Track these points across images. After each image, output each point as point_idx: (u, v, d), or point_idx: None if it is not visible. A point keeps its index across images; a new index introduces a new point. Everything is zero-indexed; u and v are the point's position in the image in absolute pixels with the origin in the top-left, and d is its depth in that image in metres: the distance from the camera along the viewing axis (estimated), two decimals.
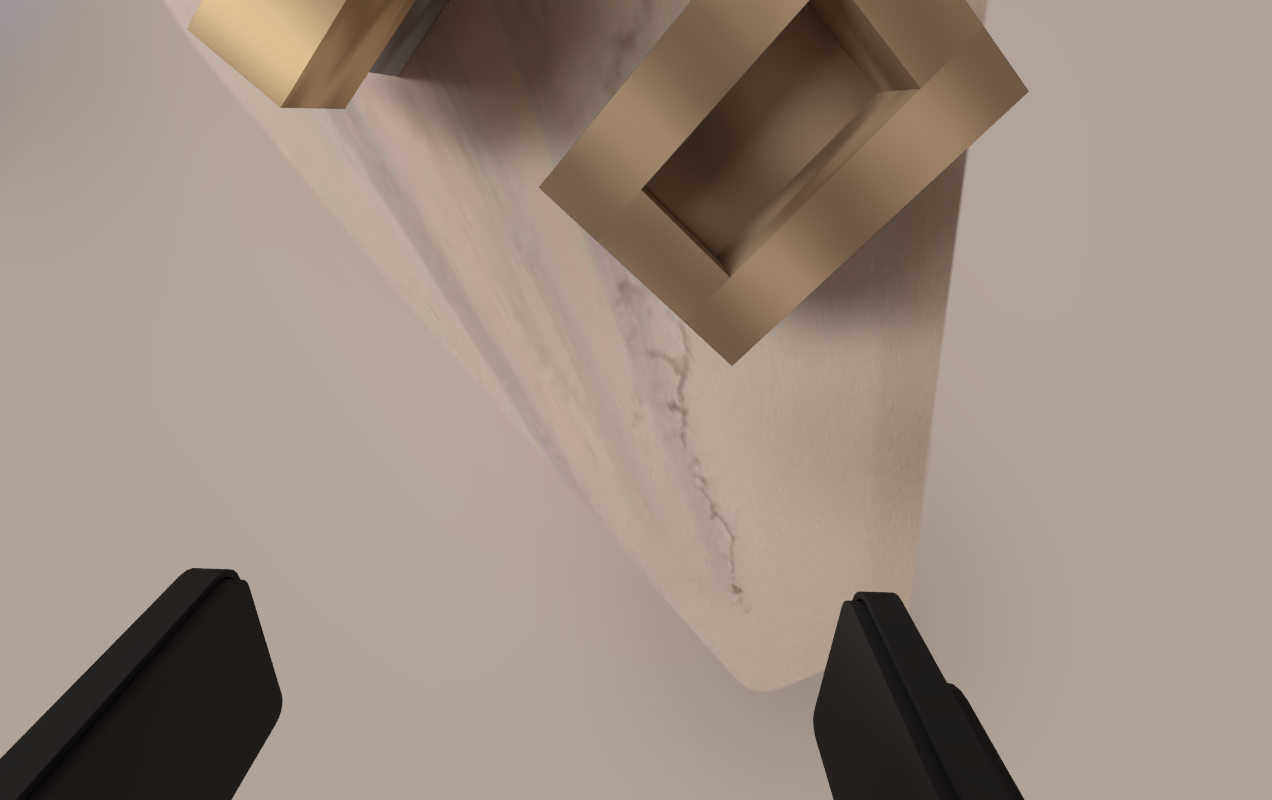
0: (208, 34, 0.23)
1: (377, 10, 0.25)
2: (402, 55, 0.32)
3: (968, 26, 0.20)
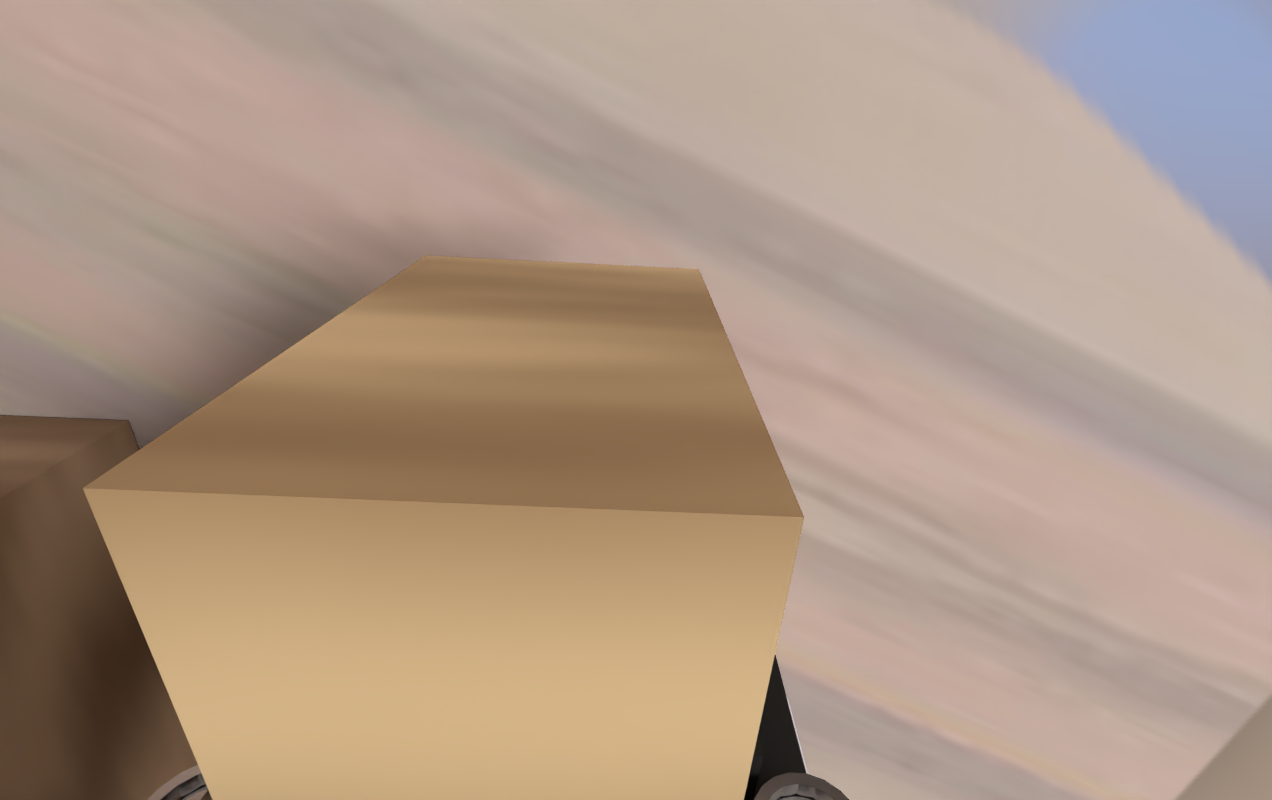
0: (679, 567, 0.04)
1: None
2: None
3: None
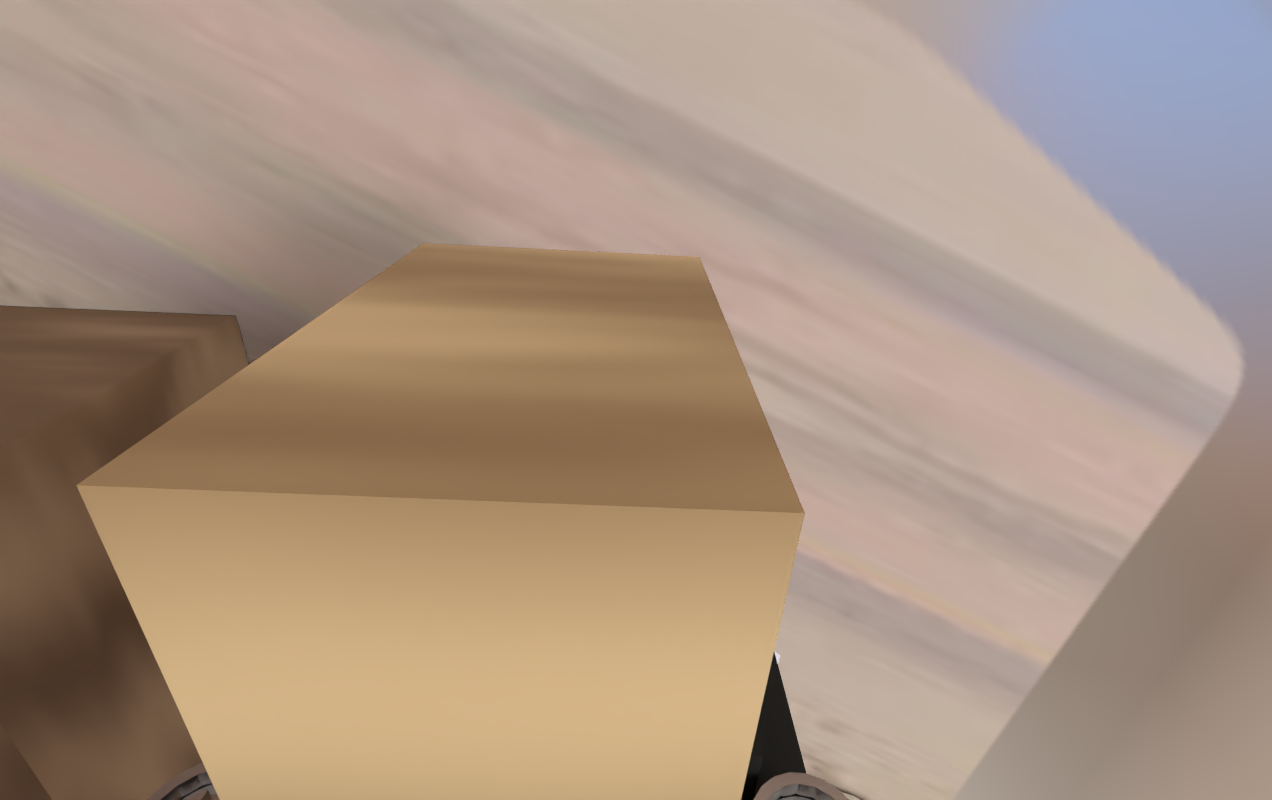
0: (678, 563, 0.04)
1: None
2: None
3: None
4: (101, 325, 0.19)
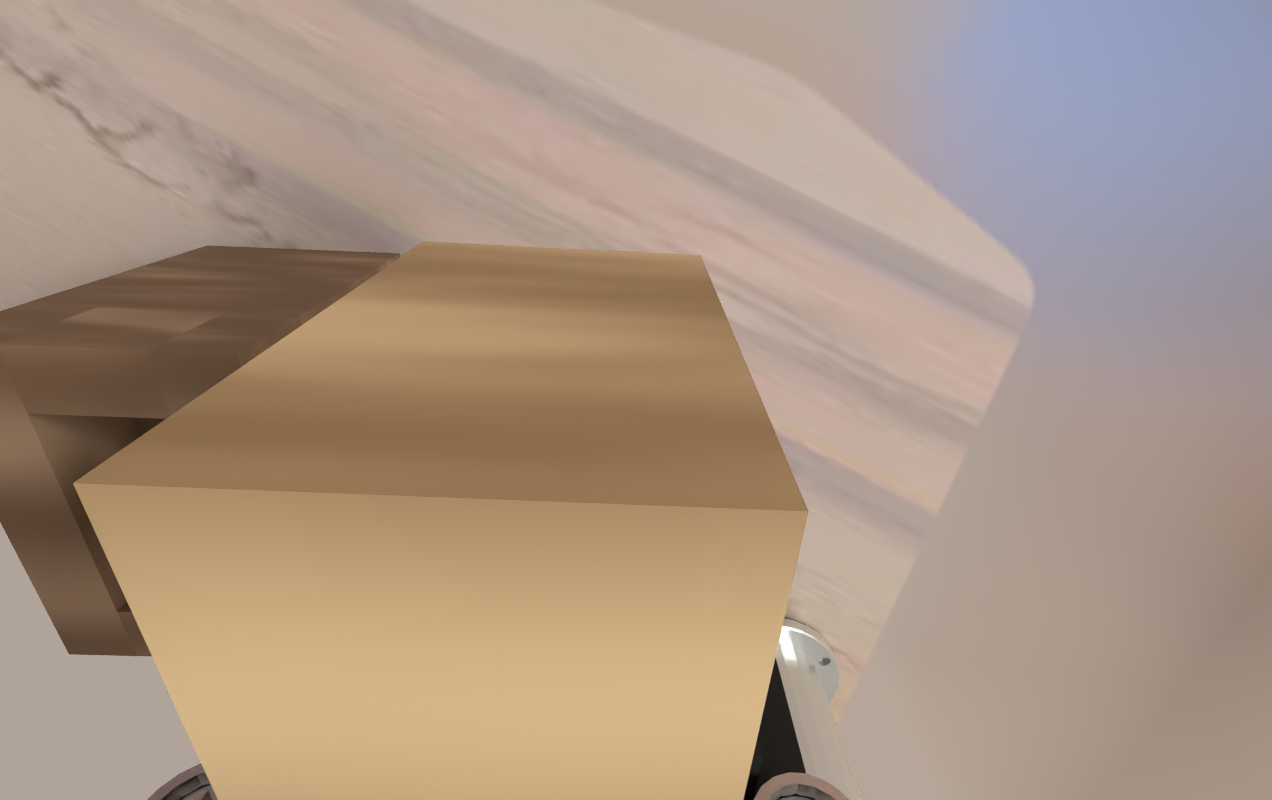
0: (681, 561, 0.03)
1: None
2: None
3: (142, 650, 0.25)
4: (326, 256, 0.31)
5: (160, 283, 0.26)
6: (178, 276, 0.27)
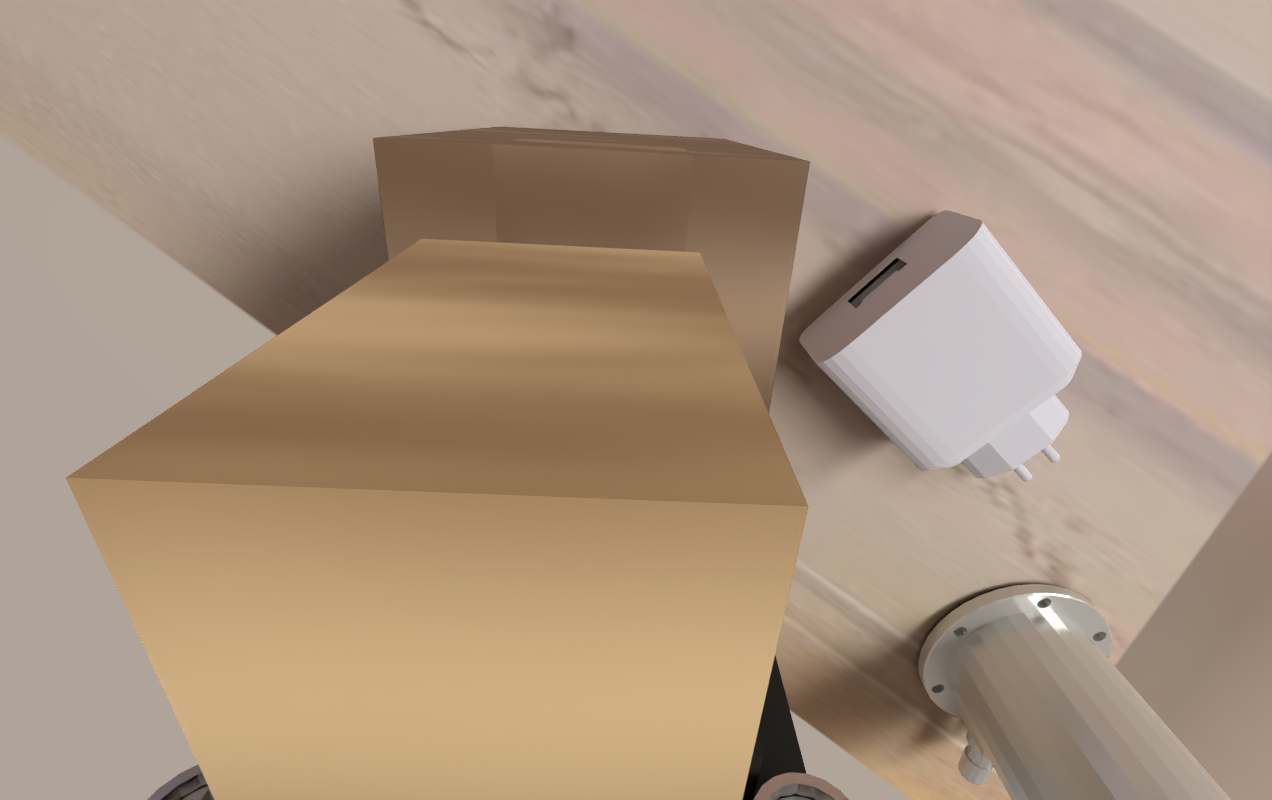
0: (679, 557, 0.03)
1: None
2: None
3: None
4: None
5: (535, 134, 0.21)
6: (539, 133, 0.22)
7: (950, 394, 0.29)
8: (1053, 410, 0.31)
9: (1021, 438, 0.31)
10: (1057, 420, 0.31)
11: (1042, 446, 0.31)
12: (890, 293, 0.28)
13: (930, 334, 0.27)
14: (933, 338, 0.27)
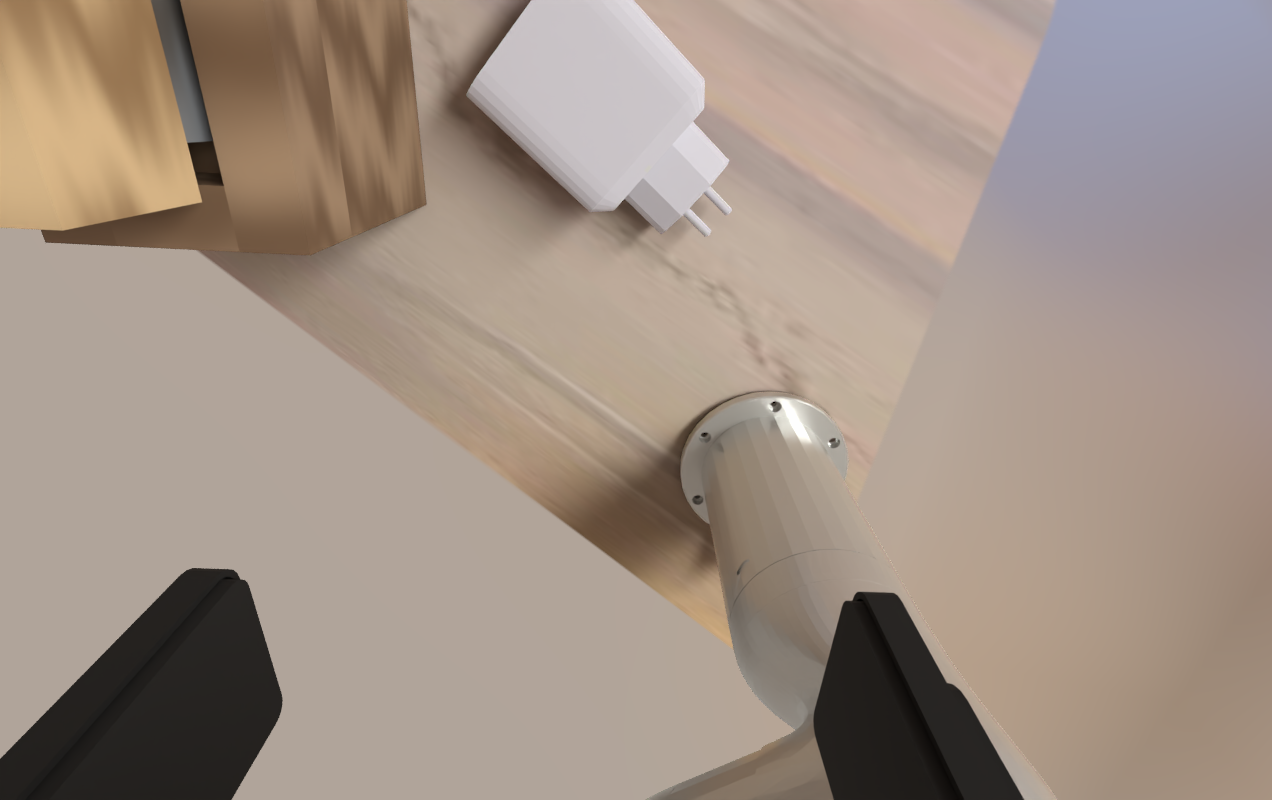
0: None
1: None
2: None
3: (123, 237, 0.24)
4: None
5: None
6: None
7: (588, 122, 0.31)
8: (708, 154, 0.34)
9: (680, 181, 0.34)
10: (714, 165, 0.34)
11: (702, 190, 0.34)
12: None
13: (553, 56, 0.30)
14: (557, 60, 0.30)
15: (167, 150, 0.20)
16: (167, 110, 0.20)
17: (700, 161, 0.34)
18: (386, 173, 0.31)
